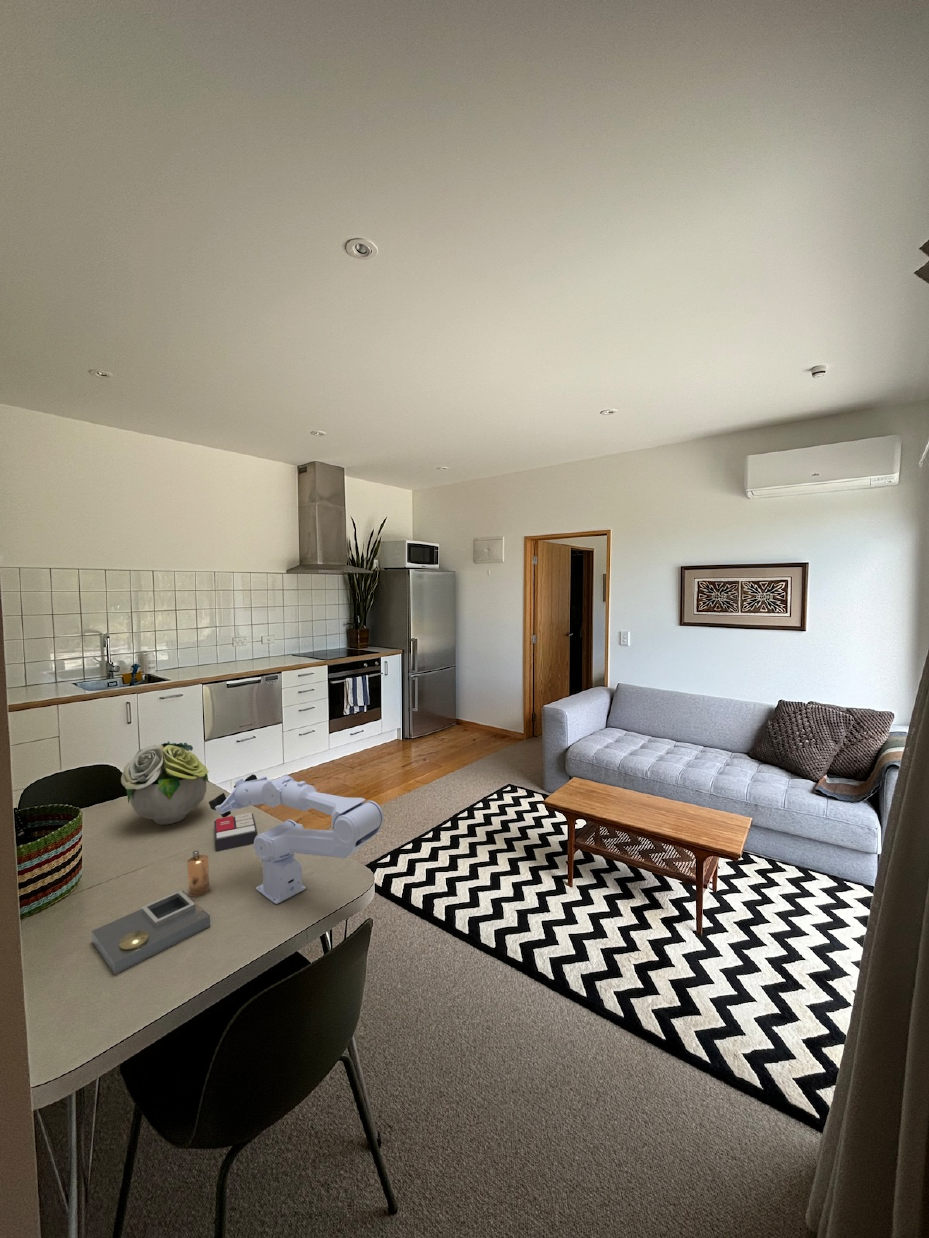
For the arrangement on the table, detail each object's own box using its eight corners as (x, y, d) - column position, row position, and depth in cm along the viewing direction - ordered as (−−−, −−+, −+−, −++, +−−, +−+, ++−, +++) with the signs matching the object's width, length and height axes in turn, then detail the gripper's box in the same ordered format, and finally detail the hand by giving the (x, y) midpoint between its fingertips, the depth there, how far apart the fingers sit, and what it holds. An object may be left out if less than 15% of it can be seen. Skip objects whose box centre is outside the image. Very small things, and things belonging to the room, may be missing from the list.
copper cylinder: (212, 890, 125) (211, 852, 124) (193, 899, 121) (191, 860, 121) (204, 883, 128) (203, 846, 127) (185, 892, 124) (183, 854, 123)
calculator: (252, 810, 161) (257, 828, 147) (253, 824, 161) (257, 843, 148) (214, 817, 156) (214, 837, 142) (214, 831, 156) (215, 852, 143)
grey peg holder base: (210, 926, 112) (209, 910, 112) (114, 974, 98) (113, 957, 98) (183, 900, 121) (182, 886, 120) (92, 942, 107) (91, 926, 107)
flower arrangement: (103, 835, 151) (98, 755, 150) (163, 800, 176) (160, 730, 174) (179, 841, 148) (176, 759, 146) (230, 804, 173) (228, 733, 171)
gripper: (272, 764, 133) (240, 769, 140) (225, 794, 121) (193, 798, 128) (282, 788, 134) (250, 792, 141) (236, 821, 122) (203, 823, 128)
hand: (223, 796), depth 134 cm, fingers open, 7 cm apart
